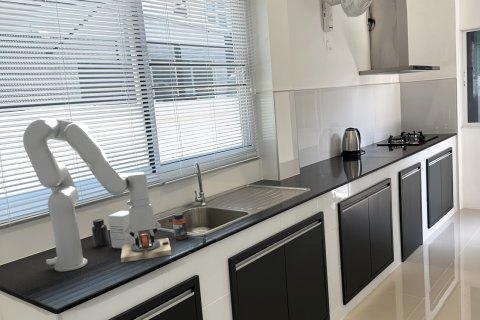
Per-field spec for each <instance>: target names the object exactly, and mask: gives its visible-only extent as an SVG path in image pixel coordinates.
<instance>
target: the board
mask: <svg viewBox="0 0 480 320" xmlns="http://www.w3.org/2000/svg"><path fill="white" fill-rule="evenodd" d="M157 240H159V241H160V246H159V247H157V248H155V249H152V250H148V251H147V250H144V251H133V250H132V249H131V245H132V244H134V243H132V244H126V245H122V248H121V255H120V260H121V261H120V263H128V262H133V261H141V260H146V259H153V258H159V257H166V256H170V255H172V248H171V245H170V244H171V243H170V240H169V238H168V237H165V238H159V239H157Z"/></svg>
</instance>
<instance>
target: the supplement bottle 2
mask: <svg viewBox="0 0 480 320" xmlns="http://www.w3.org/2000/svg"><path fill="white" fill-rule="evenodd" d="M173 216H174V218H173V219H172V227H173V232H174V233H173V235H174V239H176V240H184V239H187V238H188V229H187V220H186V217H184V213H182V212H179V213H174V214H173Z"/></svg>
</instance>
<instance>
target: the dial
mask: <svg viewBox="0 0 480 320" xmlns="http://www.w3.org/2000/svg"><path fill="white" fill-rule="evenodd" d="M139 236H140V237H139V239H140V240H139V245H140V247H139V248H138V245H136V243H134V244H132V245H131V249H132V250H133V251H144V250H147V251H148V250H152V249H155V248H157V247H159V246H160V241H159V240H158V239H154V243H153V246H152V245H151V239H149V233H147V232H144V233H141V234H140V235H139Z"/></svg>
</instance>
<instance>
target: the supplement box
mask: <svg viewBox="0 0 480 320" xmlns="http://www.w3.org/2000/svg"><path fill="white" fill-rule="evenodd" d="M107 220H108V226H109V227H108V228H109V235H110V240H111V242H110V243H111V248H112V247H113V248H114V249H122V245H126V244H132V243H135V238H134V237H133V236H131V235H130V234H128V233H126V232H125V230H126V228H127V227H128V225H129V223H130V222H129V210H119V211H116V212H114V213H112V214H109V215H107ZM130 231H131V229H130ZM137 235H138V237H139V236H140V235H139V233H138V234H137ZM139 238H140V237H139ZM113 248H112V249H113Z"/></svg>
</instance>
